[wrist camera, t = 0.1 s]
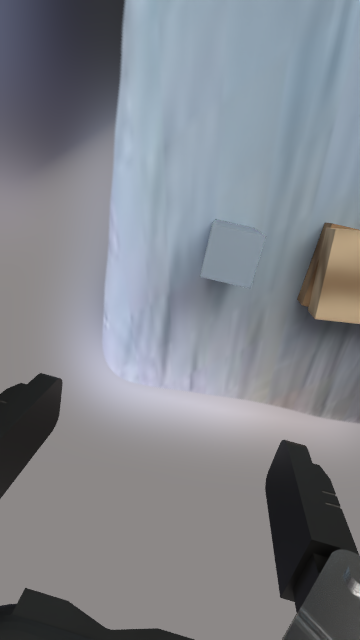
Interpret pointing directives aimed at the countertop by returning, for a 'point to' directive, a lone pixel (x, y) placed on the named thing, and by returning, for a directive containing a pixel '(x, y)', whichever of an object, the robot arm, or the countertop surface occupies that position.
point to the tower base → (314, 267)
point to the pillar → (232, 253)
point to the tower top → (338, 278)
